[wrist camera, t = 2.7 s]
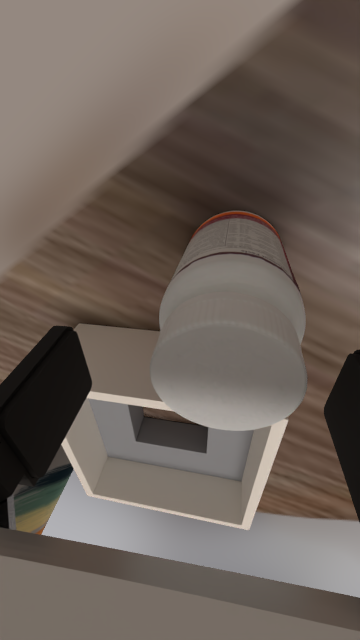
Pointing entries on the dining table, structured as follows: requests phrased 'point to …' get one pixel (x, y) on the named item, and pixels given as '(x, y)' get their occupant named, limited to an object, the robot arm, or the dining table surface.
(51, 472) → the lotion bottle
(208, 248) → the pill bottle
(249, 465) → the box
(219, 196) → the dining table surface
